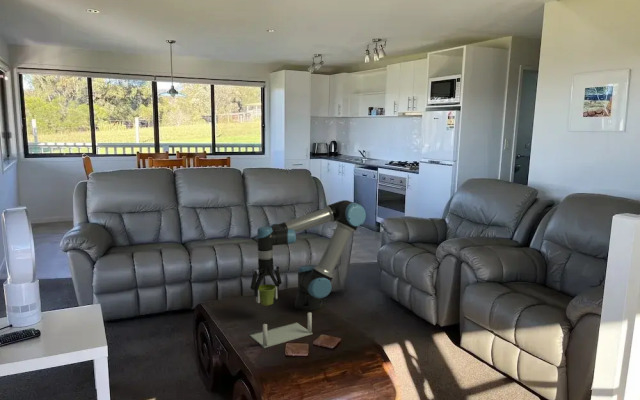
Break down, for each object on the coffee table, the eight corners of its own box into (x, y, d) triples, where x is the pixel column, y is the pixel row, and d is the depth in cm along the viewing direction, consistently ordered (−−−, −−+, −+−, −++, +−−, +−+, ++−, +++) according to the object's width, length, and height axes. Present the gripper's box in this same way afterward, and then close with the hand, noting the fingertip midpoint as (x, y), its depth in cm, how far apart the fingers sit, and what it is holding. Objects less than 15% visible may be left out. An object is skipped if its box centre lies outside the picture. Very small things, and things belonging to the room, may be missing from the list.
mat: (296, 323, 233) (296, 303, 231) (312, 334, 220) (312, 313, 219) (250, 335, 218) (249, 315, 217) (264, 347, 206) (263, 325, 204)
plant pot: (273, 307, 227) (272, 290, 226) (255, 306, 229) (254, 289, 228) (278, 300, 236) (278, 284, 235) (261, 299, 238) (260, 283, 237)
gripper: (281, 252, 238) (282, 293, 242) (242, 259, 226) (243, 302, 230) (288, 255, 232) (289, 297, 235) (248, 263, 220) (250, 307, 223)
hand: (266, 300), depth 233 cm, fingers closed on plant pot, 9 cm apart
